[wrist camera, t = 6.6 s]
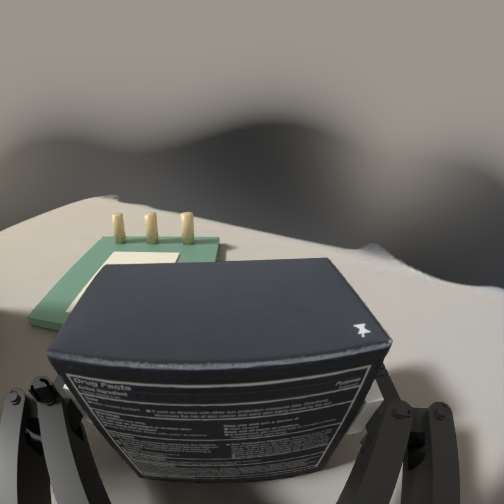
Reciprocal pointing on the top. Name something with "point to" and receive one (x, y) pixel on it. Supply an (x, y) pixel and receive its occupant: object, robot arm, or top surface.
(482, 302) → the top surface
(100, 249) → the green header board
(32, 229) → the top surface
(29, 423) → the robot arm
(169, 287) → the small box
